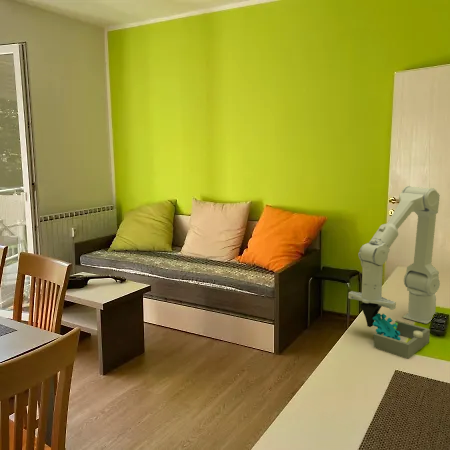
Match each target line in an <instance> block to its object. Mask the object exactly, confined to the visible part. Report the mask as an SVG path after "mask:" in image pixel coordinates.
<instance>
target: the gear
mask: <svg viewBox="0 0 450 450" xmlns="http://www.w3.org/2000/svg"><path fill="white" fill-rule="evenodd" d="M373 320H375V321H374V322H373V327H376V329H375V332H376V333H375V334H380V335H383V336H386V337H390V338H393V339H396V340H399V341H402V340H401V337H400V336H401V335H400V332H399V331H397V330H396V328H397V326H398V323H397V322H396V323H395V322H394V323H393V324H392V322H393V319H392V318H391V317H388V318H387V315H386V314H385V313H382V314H381V313H379V312H378V313H377V314H376V316H375V317H373Z"/></svg>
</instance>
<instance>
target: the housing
mask: <svg viewBox="0 0 450 450" xmlns="http://www.w3.org/2000/svg"><path fill="white" fill-rule="evenodd" d="M396 322H397V323H398V326H397V328H396V330H397V331H399V332H400V335H399V336H403V337H406V338H408V339H410V340H408V341H407V342H406V341H403V340H400V341H399V340H396V339H393V338H390V337H386V336H383V334H381V335H380V334H376V333H375V334H373V340H374V341H373V349H379V350H381V351H383V352H387V353H389V354H392V355H396V356H398V357H402V358H405V359H409V358H411V357H412V356H413V355H415V354H416V353H417V352H419V351H420V350H422V348H423V347H425V346H426V345H427V344H429V343H430V335H431V334H430V331H431V330H430V328H426V327H423V326H419V325H415V324H412V323H408V322H405V321H401V320H397V319H396V320H395V321H394V323H396Z"/></svg>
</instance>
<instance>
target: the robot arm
mask: <svg viewBox="0 0 450 450" xmlns="http://www.w3.org/2000/svg"><path fill="white" fill-rule="evenodd" d="M440 196H441V194H440V193H439V192H438V191H437V189H435V188H434V187H430V188H428V187H420V186H419V187H417V186H410V185H407V186H404V187H403V189H402V190H401V192H400V193H399V196H398V200H399V203H398V204H397V206H396V207H395V209H394V211H393V213H392V215H391V216H390V218H389V219H388V220H387V223H383V224H381V225H380V226H379V227H378V229H377V230H376V232H375V233H374V234H373V236H372V238H371V239H370V240H369V241H368V242H366V243H365V244H362V246H361V247H360V249H359V252H358V253H357V254H358V259H359V261H360V265H361V268H362V271H361V272H362V273H361V274H362V275H361V276H362V278H361V292H358V291H354V290H351V291H349V292H348V299H350V300H356V301H360V302H361V304H360V305H359V307H360V308H361V311H362V313H363V315H364V317H365V321H366V326H367V327H368V328H371V327H374V325H373V322H375V320H373V317H375V316H376V314H377V313H379V311H380V309H382V307H384V308H387V309H389V310H391V311H393V310H395V309H396V307H397V301H394V300H391V299H388V298H386V297H383V296H382V295H383V293H382V292H383V272H384V271H383V270H384V269H383V268H384V267H383V265H384V264H385V263H386V262H387V260H388V258H389V257H388V256H389V253H390V248H391V247H392V245H393V244H394V242H395V240H396V239H397V237H399V232H398V229H399V228H400V227H401V226H402V225H403V223H404V222H405V221H406V220H407V219H408V217H409V216H410V215H411V214H412V213H415V215H417V222H416V223H417V225H416V233H415V235H416V237H415V246H414V257H413V263H411V264H409V265H408V266H406V271H405V274H404V276H403V285H404V286H405V288H406V291H408V302H407V303H408V305H407V306H408V307H407V313H405V314H404V315H403V316H402V318H403V319H405V320H406V319H407V320H410V321H414V322H418V323H421V324H425V325H428V324H429V323H430V322H432V321H433V320H432V317H433V315H434V314H436V306H437V305H436V304H437V295H436V293H437V292H438V291H439V288H440V286H441V285H440V284H441V283H440V277H439V273H440V272H439V270H438V269H437V268H435V267H434V265H433V263H432V261H433V260H432V259H433V249H434V241H435V231H436V221H437V214H439V205H440ZM431 320H432V321H431Z"/></svg>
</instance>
